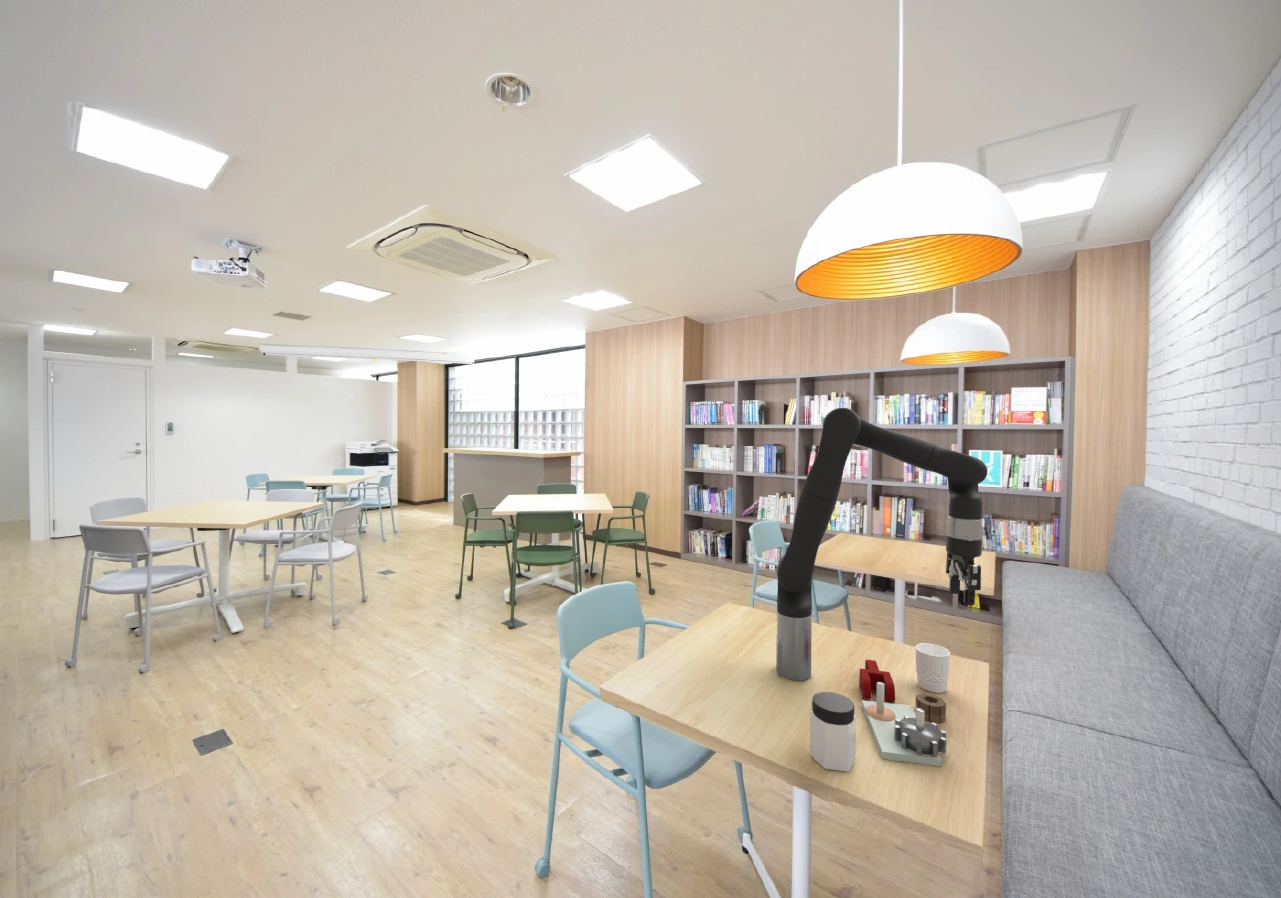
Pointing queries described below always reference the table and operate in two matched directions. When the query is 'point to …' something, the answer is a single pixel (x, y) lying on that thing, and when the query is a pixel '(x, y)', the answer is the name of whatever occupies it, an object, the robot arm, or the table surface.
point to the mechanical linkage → (873, 676)
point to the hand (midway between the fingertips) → (961, 599)
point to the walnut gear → (932, 707)
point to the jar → (833, 731)
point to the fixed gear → (920, 734)
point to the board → (892, 729)
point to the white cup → (932, 667)
